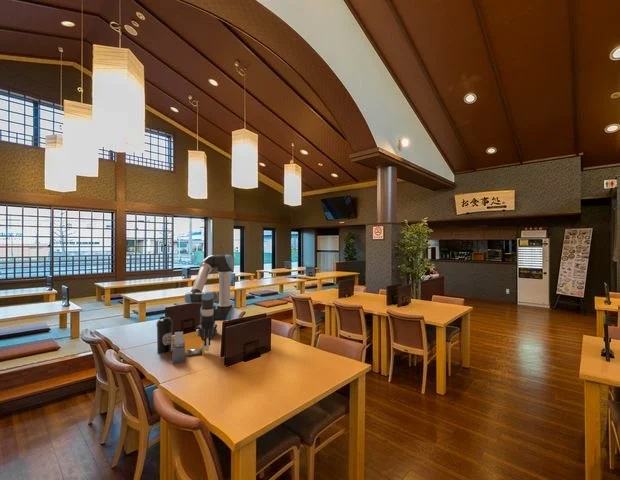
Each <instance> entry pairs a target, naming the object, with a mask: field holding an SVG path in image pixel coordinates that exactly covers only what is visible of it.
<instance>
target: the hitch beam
mask: <svg viewBox="0 0 620 480" xmlns="http://www.w3.org/2000/svg"><path fill="white" fill-rule="evenodd" d="M174 343H175V338H172V346H171V357H172V358H171V362H172V365H176V364H182V363H183V364H184V363H186V362H185V361H186V345H185V338H184V337H183V345H178V346H174Z"/></svg>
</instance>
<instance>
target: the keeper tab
mask: <svg viewBox="0 0 620 480" xmlns="http://www.w3.org/2000/svg"><path fill="white" fill-rule="evenodd" d="M183 338H184V331H175V332H174V339H175V343H174V346H178V345H183Z"/></svg>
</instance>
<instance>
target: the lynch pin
mask: <svg viewBox="0 0 620 480" xmlns="http://www.w3.org/2000/svg"><path fill="white" fill-rule="evenodd" d="M205 352H206V346H205V345H204V342H201V345H200V348H193V349H192V348H191V349H187V350H186V354H187V355H186V356H195V355H197V356H198V355H202V356H205V355H206V354H205Z"/></svg>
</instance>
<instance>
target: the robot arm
mask: <svg viewBox="0 0 620 480" xmlns="http://www.w3.org/2000/svg"><path fill="white" fill-rule="evenodd" d="M234 269H235V260H234V256H233V255H232V254H227V253H226V254H225V253H223V254H210V255H208V256H206V257H205V258H203V260H201V262H200V264H199V271H198V273H197V275H196V278H195V280H194V282H193V285H192V287H191V290H190V292H186V293H185V295H184V303H186V304H201V306H200V310H199V325H198V326H197V327H196V328H197V329H198V331H197V335H198V337H200V338H201V341H203V343H204V345H205V352H209V350H210V348H209V346H211V341H212V340H213V339H214V338H215V335H217V334H218V329H217V328H218V324H217V323H216V322H227V321H226V320H231V319H232V320H233V318H234V315H235V306H234V305H233V303H232V302H231V273H232V272H233V270H234ZM213 270H216V272H217V273H218V291H219V292H216V291H203V290H204V287H205V285H206V283H207V281H208V277H209V274H210V272H212V271H213ZM217 302H218V304H217V306H216V303H217ZM232 320H231V321H232Z"/></svg>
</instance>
